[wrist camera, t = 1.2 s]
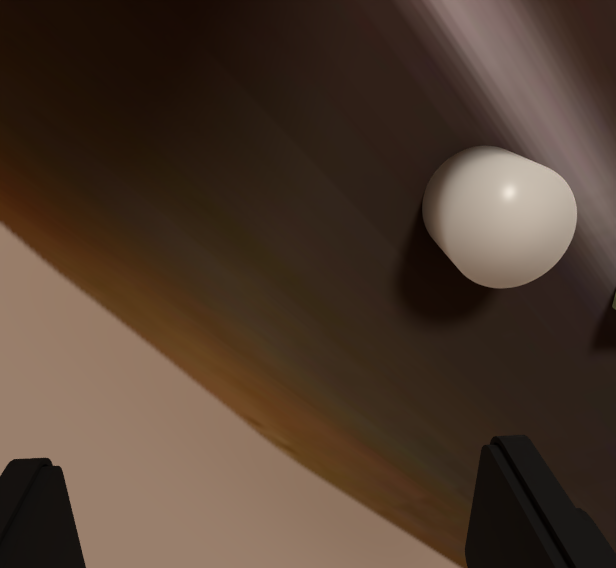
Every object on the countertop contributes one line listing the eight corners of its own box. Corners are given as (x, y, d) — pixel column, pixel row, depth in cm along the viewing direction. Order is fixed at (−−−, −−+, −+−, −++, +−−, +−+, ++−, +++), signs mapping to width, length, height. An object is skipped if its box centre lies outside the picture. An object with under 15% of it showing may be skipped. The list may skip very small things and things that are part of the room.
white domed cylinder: (427, 146, 27) (455, 163, 23) (541, 144, 28) (589, 161, 24) (417, 256, 30) (441, 290, 26) (522, 253, 30) (563, 286, 26)
